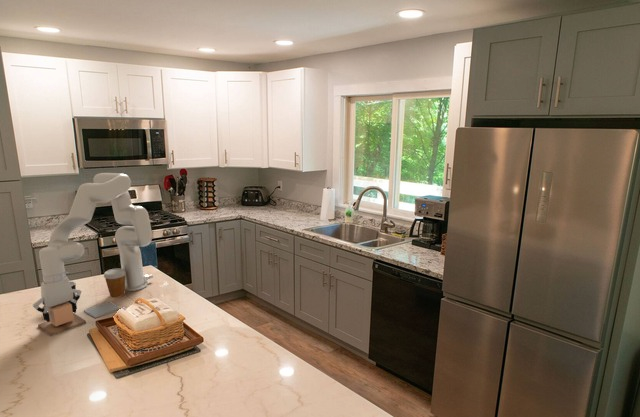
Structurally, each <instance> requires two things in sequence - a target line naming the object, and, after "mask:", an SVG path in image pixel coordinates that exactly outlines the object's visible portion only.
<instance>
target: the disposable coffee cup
mask: <svg viewBox="0 0 640 417" xmlns="http://www.w3.org/2000/svg"><path fill="white" fill-rule="evenodd" d="M125 274H126V271H125V270H124V269H122V268H112V269H108V270H106V271H105V272H104V274H103V278H104V280H105V282H106V286H107V290H108V292H109V295H110V296H109V297H110V298H120V297H123V296H124V295H126V293H125V292H126V291H125Z"/></svg>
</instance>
